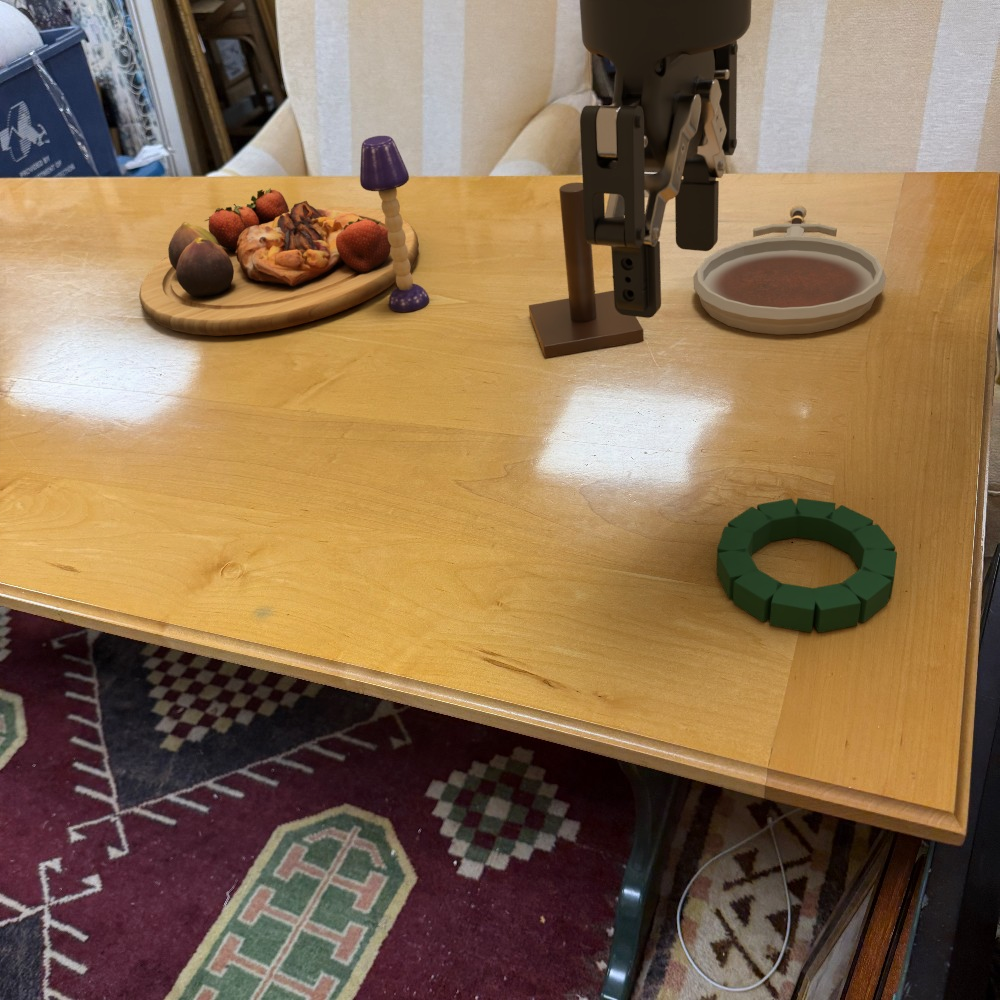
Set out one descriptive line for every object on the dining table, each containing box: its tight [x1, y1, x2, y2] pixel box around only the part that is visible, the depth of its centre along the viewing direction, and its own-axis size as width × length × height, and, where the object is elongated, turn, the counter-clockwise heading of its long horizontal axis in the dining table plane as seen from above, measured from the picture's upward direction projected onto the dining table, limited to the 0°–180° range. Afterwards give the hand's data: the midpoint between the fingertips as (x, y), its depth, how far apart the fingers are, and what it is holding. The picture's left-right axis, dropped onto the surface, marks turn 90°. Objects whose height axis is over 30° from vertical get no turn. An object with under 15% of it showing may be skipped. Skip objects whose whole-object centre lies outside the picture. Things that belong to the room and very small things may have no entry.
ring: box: [716, 497, 898, 633], centre depth 55 cm, size 10×10×2 cm
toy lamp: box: [359, 135, 430, 313], centre depth 89 cm, size 5×5×17 cm
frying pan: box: [692, 204, 887, 336], centre depth 88 cm, size 17×3×28 cm
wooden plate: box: [138, 187, 420, 337], centre depth 103 cm, size 32×32×8 cm
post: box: [528, 182, 645, 359], centre depth 81 cm, size 9×9×13 cm
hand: (669, 278), depth 48 cm, fingers open, 8 cm apart
